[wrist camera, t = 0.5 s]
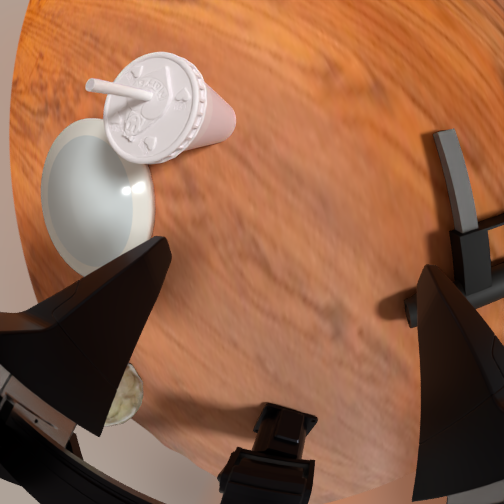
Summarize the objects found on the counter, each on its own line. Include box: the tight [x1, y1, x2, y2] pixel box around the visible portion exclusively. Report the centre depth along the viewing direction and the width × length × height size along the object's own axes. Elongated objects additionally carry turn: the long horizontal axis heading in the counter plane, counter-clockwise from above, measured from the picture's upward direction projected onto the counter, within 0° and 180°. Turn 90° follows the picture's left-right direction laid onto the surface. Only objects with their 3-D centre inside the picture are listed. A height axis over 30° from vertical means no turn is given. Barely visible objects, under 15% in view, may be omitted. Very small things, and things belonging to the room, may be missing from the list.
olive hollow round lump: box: [104, 363, 143, 426], centre depth 31 cm, size 9×8×10 cm
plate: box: [41, 118, 155, 277], centre depth 26 cm, size 18×18×1 cm
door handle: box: [404, 129, 504, 328], centre depth 17 cm, size 3×20×16 cm
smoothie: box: [86, 52, 236, 164], centre depth 15 cm, size 6×6×14 cm
